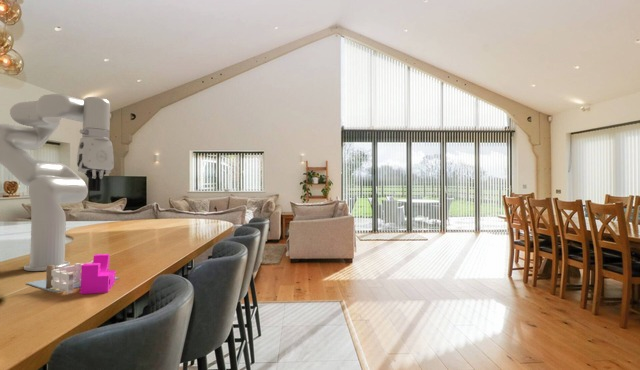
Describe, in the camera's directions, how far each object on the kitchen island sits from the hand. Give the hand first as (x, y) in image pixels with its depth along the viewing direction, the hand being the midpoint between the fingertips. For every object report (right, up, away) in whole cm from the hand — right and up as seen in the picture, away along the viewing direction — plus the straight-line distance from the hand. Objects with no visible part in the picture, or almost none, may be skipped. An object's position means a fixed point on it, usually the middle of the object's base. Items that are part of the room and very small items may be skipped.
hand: (94, 190), depth 116 cm
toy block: (+12, -27, -15) cm, 33 cm away
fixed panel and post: (+4, -27, -21) cm, 35 cm away
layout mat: (+1, -27, -11) cm, 29 cm away
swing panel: (+3, -26, -13) cm, 29 cm away
